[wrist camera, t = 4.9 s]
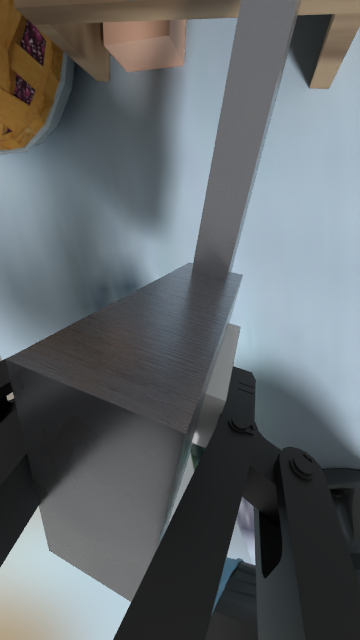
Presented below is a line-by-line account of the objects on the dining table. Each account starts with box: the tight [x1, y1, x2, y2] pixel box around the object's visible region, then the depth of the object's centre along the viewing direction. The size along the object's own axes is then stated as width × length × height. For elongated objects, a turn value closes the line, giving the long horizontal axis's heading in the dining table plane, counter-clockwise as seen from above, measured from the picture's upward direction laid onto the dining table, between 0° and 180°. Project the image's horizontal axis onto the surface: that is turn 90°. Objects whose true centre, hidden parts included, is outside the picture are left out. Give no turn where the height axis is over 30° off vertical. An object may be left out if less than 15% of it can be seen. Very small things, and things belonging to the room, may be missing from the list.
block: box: [103, 19, 186, 72], centre depth 19 cm, size 6×6×4 cm
